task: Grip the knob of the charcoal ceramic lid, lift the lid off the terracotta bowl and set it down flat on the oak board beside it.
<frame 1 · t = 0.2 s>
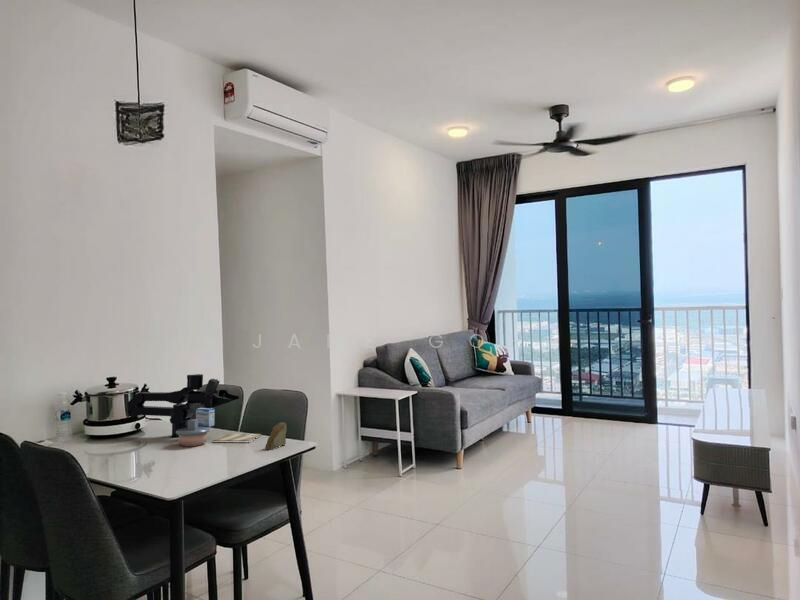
hand: (234, 399, 239), 17 cm above the table, tool horizontal, fingers open, 9 cm apart
lid: (192, 432, 223), point 5 cm above the table, touching bowl
board: (237, 439, 232), on the table
bowl: (192, 444, 223), on the table
medicine box: (205, 426, 266), on the table
rock: (274, 447, 217), on the table
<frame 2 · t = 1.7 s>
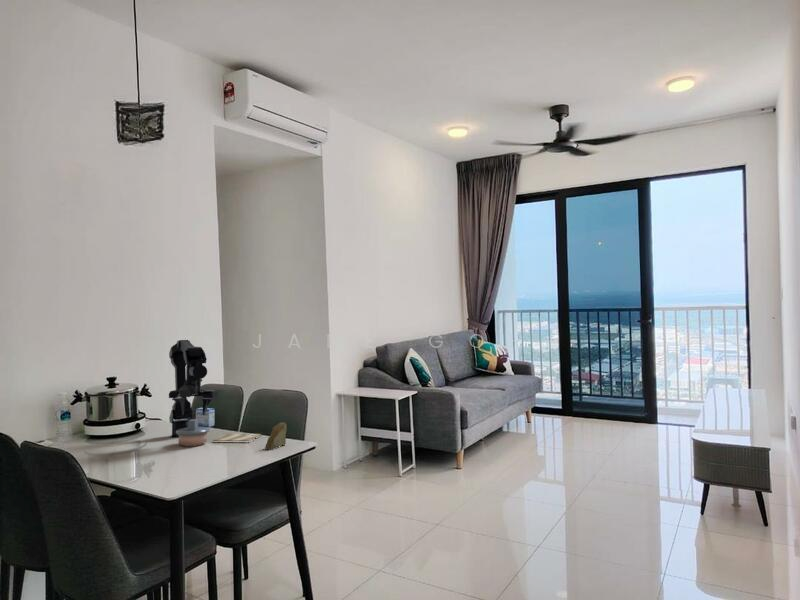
hand: (193, 414, 223), 12 cm above the table, tool pointing down, fingers open, 9 cm apart
nothing on the table moved.
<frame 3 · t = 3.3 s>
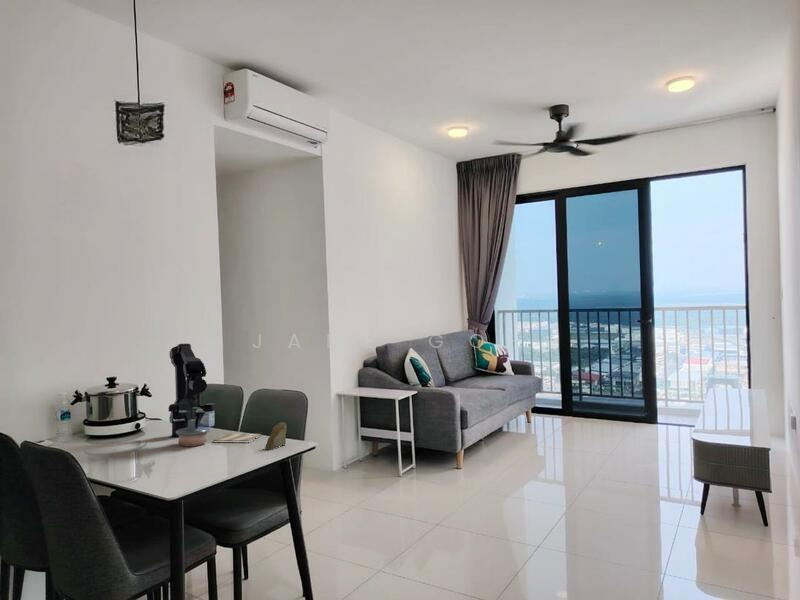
hand: (192, 428, 223), 7 cm above the table, tool pointing down, fingers closed on lid, 3 cm apart
lid: (192, 432, 223), point 5 cm above the table, touching bowl, gripper
everything else where it was.
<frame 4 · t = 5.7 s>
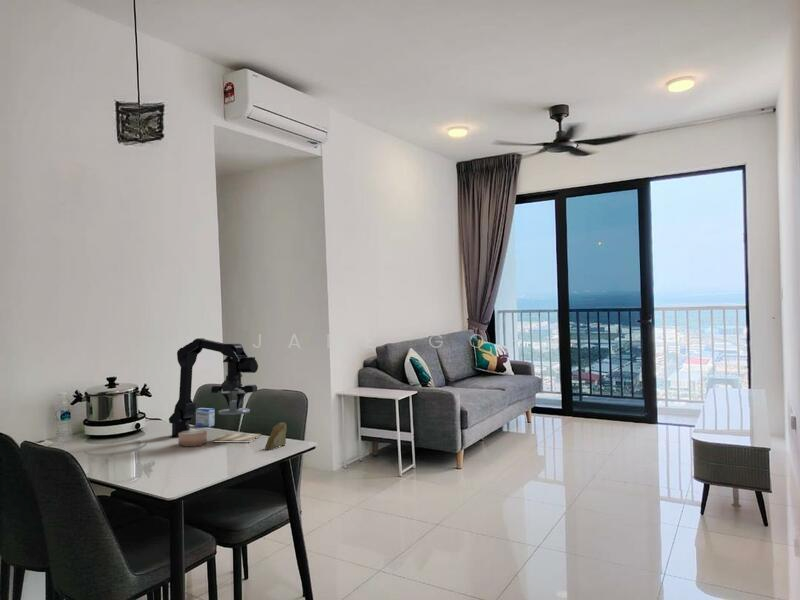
hand: (234, 408, 232), 13 cm above the table, tool pointing down, fingers closed on lid, 3 cm apart
lid: (234, 412, 232), point 12 cm above the table, touching gripper
everything else where it was.
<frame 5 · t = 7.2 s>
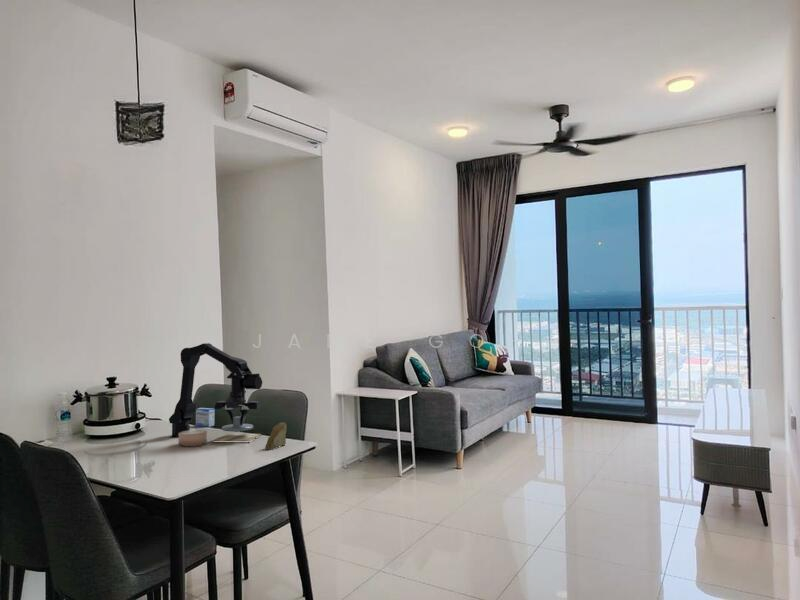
hand: (237, 425, 233), 6 cm above the table, tool pointing down, fingers closed on lid, 3 cm apart
lid: (237, 428, 233), point 5 cm above the table, touching gripper
everything else where it was.
when the fingers open (4 cm above the table, at t = 8.3 s): lid drops 1 cm, resting on board.
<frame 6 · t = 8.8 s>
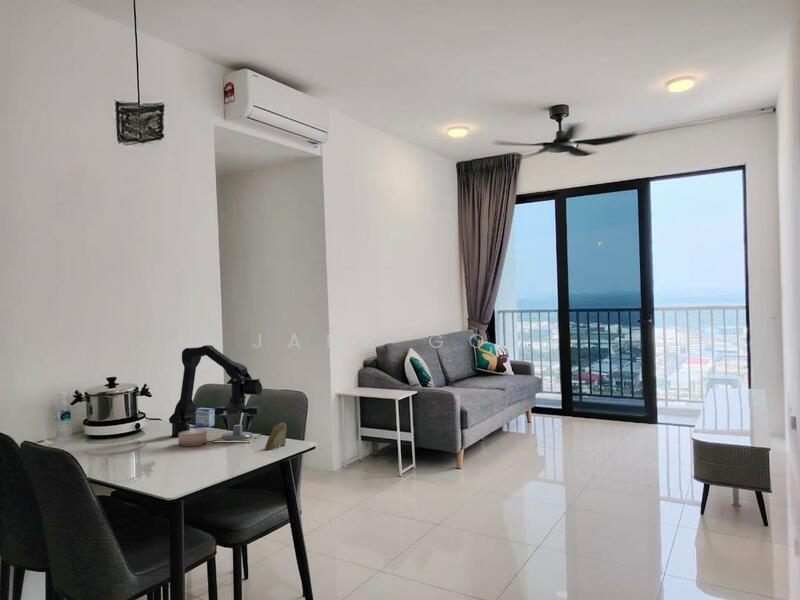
hand: (237, 430, 233), 4 cm above the table, tool pointing down, fingers open, 8 cm apart
lid: (237, 437, 232), point 1 cm above the table, touching board
everything else where it was.
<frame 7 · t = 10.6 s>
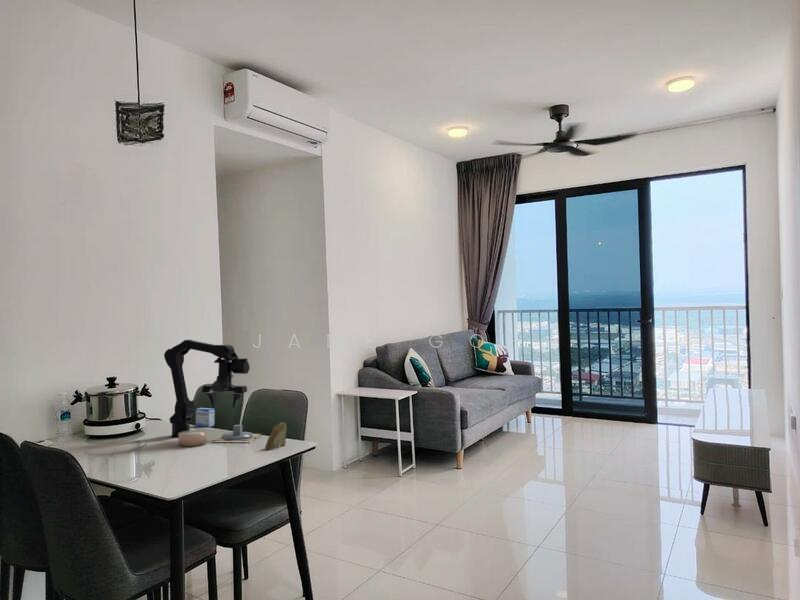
hand: (224, 408, 238), 13 cm above the table, tool pointing down, fingers open, 9 cm apart
nothing on the table moved.
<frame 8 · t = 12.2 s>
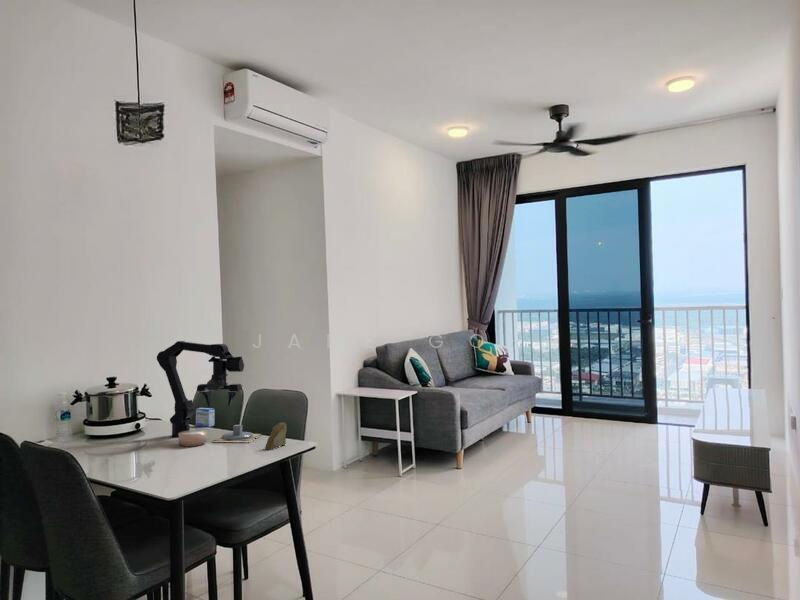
hand: (219, 406, 240), 13 cm above the table, tool pointing down, fingers open, 9 cm apart
nothing on the table moved.
at the end: lid inside the target area on the board (0.1 cm from its centre), point 1.0 cm above the board's base; lid tilted 0°; the gripper is holding nothing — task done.
